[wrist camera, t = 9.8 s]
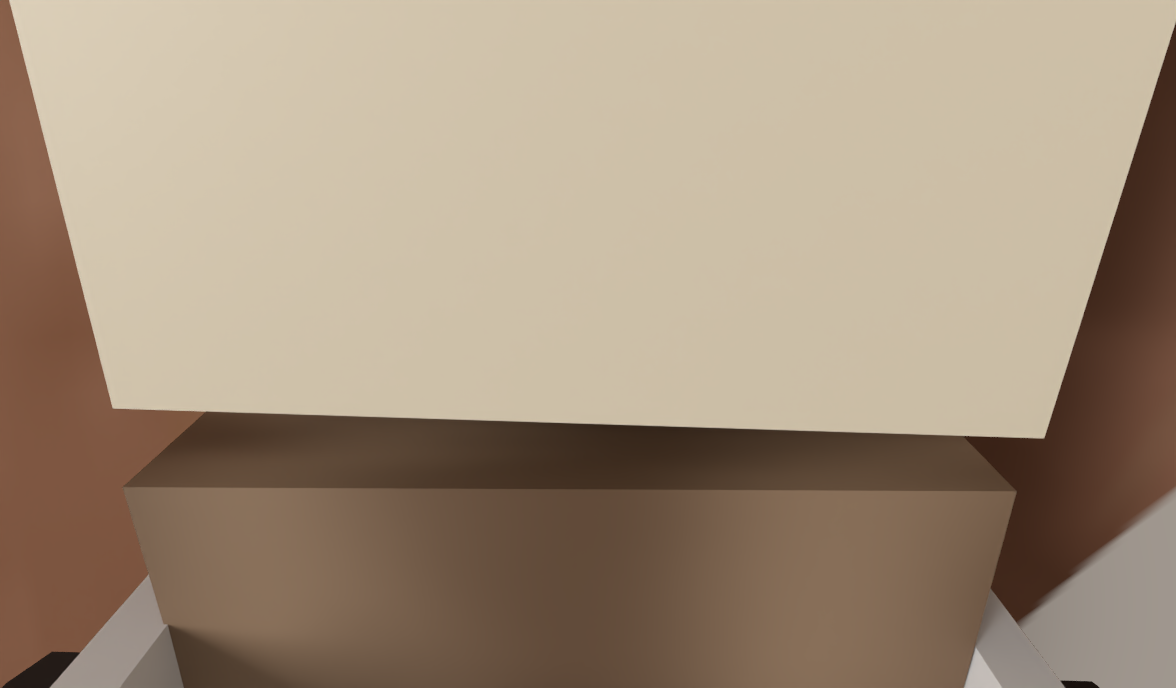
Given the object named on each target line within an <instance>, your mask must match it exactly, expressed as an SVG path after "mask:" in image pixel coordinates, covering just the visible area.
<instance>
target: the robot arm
mask: <svg viewBox="0 0 1176 688" xmlns="http://www.w3.org/2000/svg"><path fill="white" fill-rule="evenodd" d="M2 688H184V687H183V683H182V679H181V675H180V671H179V667H178V663H177V659H176V655H175V651H174V648H173V644H172V640H171V636H170V632H169V628H168V624H163V621H162V618H161V614H160V611H159V607H158V604H157V601H156V597H155V594H154V591H153V587H152V584H151V581H150V577H149V575H148V576H147V577H146V578H145V579H144V581H143V582H142V583H141V584H140V585H139V586H138V587H137V589H136V590H135V591H134V592H133V593H132V594H131V595H130V597H129V598H128V599H127V600H126V601H125V602H124V603H123V605H122V606H121V607H120V608H119V609H118V610H117V611H116V613H115V614H114V615H113V616H112V617H111V618H110V619H109V621H108V622H107V623H106V624H105V625H104V626H103V627H102V629H101V630H100V631H99V632H98V633H97V634H96V635H95V637H94V638H93V639H92V640H91V641H90V642H89V643H88V645H87V646H86V647H85V648H84V649H83V650H82V651H81V653H77V652H51V653H50V654H48V655H47V656H45V657H44V658H42V659H41V660H39V661H38V662H37V663H35V664H34V665H32V666H31V667H29V668H28V669H26V670H25V671H23V672H22V673H20V674H19V675H18V676H16V677H15V678H13V679H12V680H10V681H9V682H7V683H6V684H5V685H4V686H3V687H2ZM964 688H1099V687H1098V686H1097V685H1096V684H1094V683H1093V682H1088V681H1060V680H1059V679H1058V678H1057V676H1056V675H1055V673H1054V672H1053V671H1052V670H1051V668H1050V667H1049V665H1048V664H1047V663H1046V661H1045V660H1044V659H1043V657H1042V656H1041V655H1040V654H1039V652H1038V651H1037V649H1036V648H1035V647H1034V645H1033V644H1032V643H1031V641H1029V639H1028V638H1027V636H1026V635H1025V633H1024V632H1023V631H1022V629H1021V628H1020V627H1019V626H1018V624H1017V623H1016V622H1015V620H1014V619H1013V618H1012V616H1011V615H1010V614H1009V612H1008V611H1007V610H1006V608H1005V607H1004V606H1003V604H1002V603H1001V602H1000V600H999V599H998V598H997V596H996V595H995V594H994V592H993V591H992V590H991V588H990V592H989V596H988V599H987V603H986V607H985V610H984V614H983V618H982V621H981V625H980V629H979V632H978V636H977V640H976V643H975V647H974V651H973V654H972V658H971V662H970V665H969V669H968V673H967V676H966V680H965V684H964Z"/></svg>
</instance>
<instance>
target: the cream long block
mask: <svg viewBox="0 0 1176 688" xmlns="http://www.w3.org/2000/svg"><path fill="white" fill-rule="evenodd" d="M9 1H10V4H11V8H12V12H13V16H14V20H15V24H16V28H17V32H18V36H19V40H20V44H21V48H22V52H23V56H24V60H25V64H26V68H27V72H28V76H29V80H30V83H31V87H32V91H33V95H34V99H35V103H36V107H37V111H38V115H39V119H40V123H41V127H42V131H43V135H44V139H45V143H46V147H47V151H48V155H49V158H50V162H51V166H52V170H53V174H54V178H55V182H56V186H57V190H58V194H59V198H60V202H61V206H62V210H63V214H64V218H65V222H66V226H67V230H68V233H69V237H70V241H71V245H72V249H73V253H74V257H75V261H76V265H77V269H78V273H79V277H80V281H81V285H82V289H83V293H84V297H85V301H86V305H87V308H88V312H89V316H90V320H91V324H92V328H93V332H94V336H95V340H96V344H97V348H98V352H99V356H100V360H101V364H102V368H103V372H104V376H105V380H106V383H107V387H108V391H109V395H110V399H111V403H112V407H113V408H116V409H147V410H178V411H209V412H240V413H271V414H302V415H333V416H364V417H395V418H426V419H457V420H488V421H519V422H550V423H581V424H612V425H643V426H674V427H705V428H736V429H767V430H798V431H829V432H860V433H891V434H922V435H953V436H984V437H1015V438H1044V437H1045V434H1046V431H1047V428H1048V425H1049V422H1050V418H1051V415H1052V412H1053V409H1054V406H1055V403H1056V399H1057V396H1058V393H1059V390H1060V387H1061V384H1062V380H1063V377H1064V374H1065V371H1066V368H1067V365H1068V361H1069V358H1070V355H1071V352H1072V349H1073V346H1074V342H1075V339H1076V336H1077V333H1078V330H1079V327H1080V323H1081V320H1082V317H1083V314H1084V311H1085V308H1086V304H1087V301H1088V298H1089V295H1090V292H1091V289H1092V285H1093V282H1094V279H1095V276H1096V273H1097V270H1098V266H1099V263H1100V260H1101V257H1102V254H1103V251H1104V247H1105V244H1106V241H1107V238H1108V235H1109V232H1110V228H1111V225H1112V222H1113V219H1114V216H1115V213H1116V209H1117V206H1118V203H1119V200H1120V197H1121V194H1122V190H1123V187H1124V184H1125V181H1126V178H1127V175H1128V171H1129V168H1130V165H1131V162H1132V159H1133V156H1134V153H1135V149H1136V146H1137V143H1138V140H1139V137H1140V134H1141V130H1142V127H1143V124H1144V121H1145V118H1146V115H1147V111H1148V108H1149V105H1150V102H1151V99H1152V96H1153V92H1154V89H1155V86H1156V83H1157V80H1158V77H1159V73H1160V70H1161V67H1162V64H1163V61H1164V58H1165V54H1166V51H1167V48H1168V45H1169V42H1170V39H1171V35H1172V32H1173V29H1174V26H1175V23H1176V0H9Z"/></svg>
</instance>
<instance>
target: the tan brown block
mask: <svg viewBox="0 0 1176 688" xmlns="http://www.w3.org/2000/svg"><path fill="white" fill-rule="evenodd" d="M123 490H124V494H125V497H126V500H127V504H128V507H129V510H130V514H131V517H132V520H133V524H134V527H135V530H136V534H137V537H138V541H139V544H140V547H141V551H142V554H143V557H144V561H145V564H146V567H147V571H148V574H149V577H150V581H151V584H152V587H153V591H154V594H155V597H156V601H157V604H158V607H159V611H160V614H161V618H162V621H163V624H168V628H169V632H170V636H171V640H172V644H173V648H174V651H175V655H176V659H177V663H178V667H179V671H180V675H181V679H182V683H183V687H184V688H964V684H965V680H966V676H967V673H968V669H969V665H970V662H971V658H972V654H973V651H974V647H975V643H976V640H977V636H978V632H979V629H980V625H981V621H982V618H983V614H984V610H985V607H986V603H987V599H988V596H989V592H990V588H991V585H992V581H993V577H994V574H995V570H996V566H997V562H998V559H999V555H1000V551H1001V548H1002V544H1003V540H1004V537H1005V533H1006V529H1007V526H1008V522H1009V518H1010V515H1011V511H1012V507H1013V504H1014V500H1015V496H1016V493H1017V491H1016V490H1015V489H1014V488H1013V487H1012V486H1011V485H1010V484H1009V483H1008V482H1007V481H1006V480H1005V479H1004V478H1003V477H1002V476H1001V475H1000V474H999V473H998V472H997V471H996V470H995V468H994V467H993V466H992V465H991V464H990V463H989V462H988V461H987V460H986V459H985V458H984V457H983V456H982V455H981V454H980V453H979V452H978V451H977V450H976V449H975V448H974V447H973V446H972V445H971V444H970V443H969V442H968V441H967V440H966V439H965V438H964V437H963V436H953V435H922V434H891V433H860V432H829V431H798V430H767V429H736V428H705V427H674V426H643V425H612V424H581V423H550V422H519V421H488V420H457V419H426V418H395V417H364V416H333V415H302V414H271V413H240V412H209V411H206V412H205V413H204V414H203V415H202V416H201V417H200V418H199V419H198V420H196V421H195V422H194V423H193V424H192V425H191V426H190V427H189V428H188V429H186V430H185V431H184V432H183V433H182V434H181V435H180V436H179V437H178V438H177V439H175V440H174V441H173V442H172V443H171V444H170V445H169V446H168V447H167V448H165V449H164V450H163V451H162V452H161V453H160V454H159V455H158V456H157V457H155V458H154V459H153V460H152V461H151V462H150V463H149V464H148V465H147V466H146V467H144V468H143V469H142V470H141V471H140V472H139V473H138V474H137V475H136V476H134V477H133V478H132V479H131V480H130V481H129V482H128V483H127V484H126V485H125V486H123Z"/></svg>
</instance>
